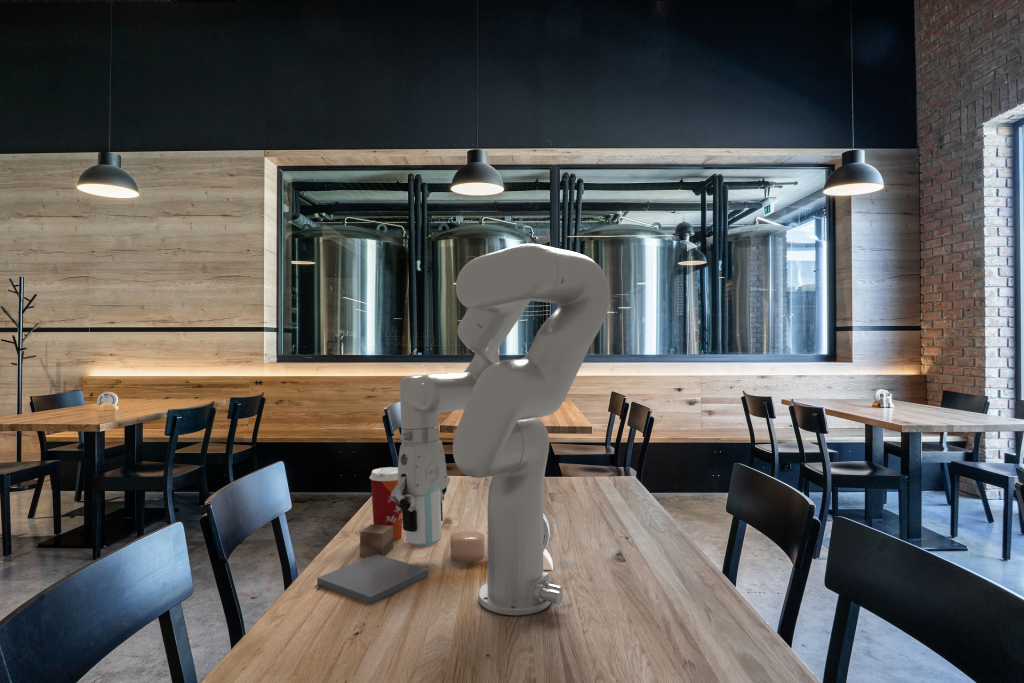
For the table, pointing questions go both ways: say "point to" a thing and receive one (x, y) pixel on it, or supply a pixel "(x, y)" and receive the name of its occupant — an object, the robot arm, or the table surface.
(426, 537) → the can
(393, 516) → the coffee cup
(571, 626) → the table surface
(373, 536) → the walnut block
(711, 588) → the table surface
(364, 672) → the table surface
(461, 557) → the peach smooth rounded part
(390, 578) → the slate board
